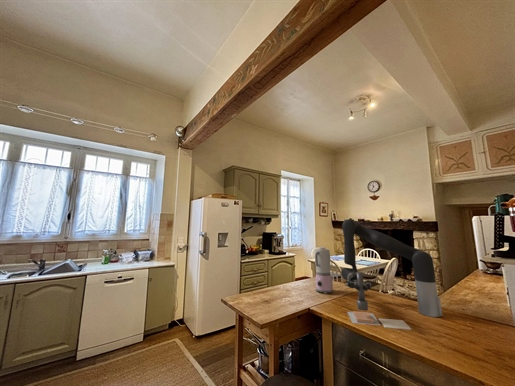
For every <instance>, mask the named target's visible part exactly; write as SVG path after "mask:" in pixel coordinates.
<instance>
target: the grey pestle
mask: <svg viewBox="0 0 515 386" xmlns="http://www.w3.org/2000/svg"><path fill="white" fill-rule="evenodd" d="M364 281H365V280H364V272H362V271H358V272H357V284H358V286H359V291H358V290H357V293H358V295H357V296H358V298H357V299H356V306H357V307H356V308H357V310H359V311H362V312H366V311H367V312H368V311H369V304H368V300H367V299H366V295H365V292H366V291H365V290H364Z"/></svg>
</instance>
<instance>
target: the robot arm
mask: <svg viewBox="0 0 515 386" xmlns="http://www.w3.org/2000/svg"><path fill="white" fill-rule="evenodd" d="M341 228H342V234H343V240H344V241H343V242H344V243H343V247H344V248H343V249H344V250H343V251H344V254H343V255H344V257H343V258H344V260H343V261H344V264H345V265H349V266H351V267H350V268H349V267H343V268H342V269H341V270H340V271H341V272H340V273H341V276H342V277H341V278H342V279H344V280H345V286H346V287H347V288H350V289H355V290H356V291H357V292H358V291H359V286H358V284H357V272H359V270H358V268H357V264H356V263H357V261H356V257H357V255H356V247H355V236H358V237H360V238H363V239H364V240H366V241H367V242H368V243H370V244H372V245H373V246H375V247H377V248H379V249H381V250H383V251H387V252H388V253H393V254H395V255H399V256H401V257H403V258H405V259H407V260H408V261H411V262H412V269H413V270H412V271H413V275H414V282H415V291H416V299H417V307H418V309H417V310H418V312H419V313H420V314H422V315H424V316H427V317H434V318H439V317H443V310H442V304H441V297H440V296H438V295H439V294H438V288H437V287H438V286H437V280H436V272H435V265H434V259H433V257H432V255H431V254H430V253H428V252H427V251H424V250H422V249H418V248H416V247H412V246H410V245H407V244H405V243H403V242H402V241H399V240H397V239H396V238H393V237H392V236H390V235H387V234H385V233H383V232H380V231H377V230H374V229H371V228H367V227H366V226H364V225H361V224H360V223H359V222H357V221H355V220H353V219H345V220H344V221H343V222H342V225H341ZM363 281H364V292H368V290H370V289H371V288H372V282H371V281H368V282H366V281H365V280H363Z"/></svg>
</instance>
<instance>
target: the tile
mask: <svg viewBox="0 0 515 386" xmlns="http://www.w3.org/2000/svg"><path fill="white" fill-rule="evenodd" d="M352 312H353V315H354V317H355V319H356V321H357V322H359V323H370V324H375V321H374V319H373V318H372V316H371V315H370V312H368V311H367V312H366V311H354V310H353V311H352ZM359 323H358V324H359ZM370 324H369V325H370Z"/></svg>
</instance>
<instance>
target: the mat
mask: <svg viewBox="0 0 515 386" xmlns="http://www.w3.org/2000/svg"><path fill="white" fill-rule="evenodd" d="M369 313H370V312H369ZM347 315H348V317H349V319H350V320H351V323H352V324H360V325H371V326H372V325H373V326H381V322H380V321H379V319H377V317H376V316H375V314H374V313H370V315H371V316H372V318H373V319H374V321H375V324H370V323H359V322H357V321H356V319H355V317H354V315H353V311H347Z"/></svg>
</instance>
